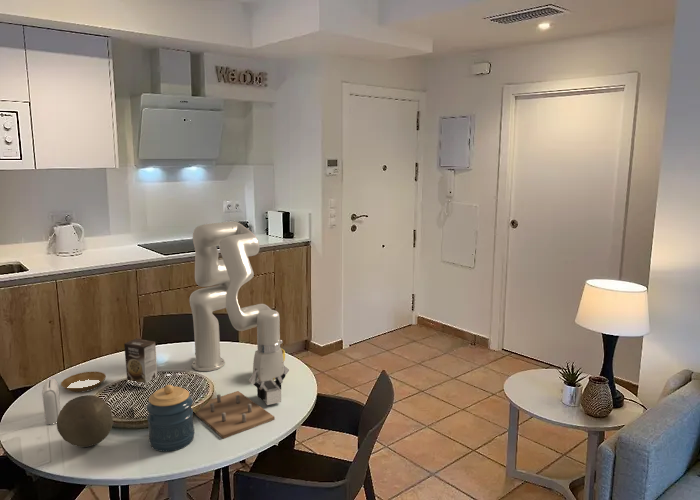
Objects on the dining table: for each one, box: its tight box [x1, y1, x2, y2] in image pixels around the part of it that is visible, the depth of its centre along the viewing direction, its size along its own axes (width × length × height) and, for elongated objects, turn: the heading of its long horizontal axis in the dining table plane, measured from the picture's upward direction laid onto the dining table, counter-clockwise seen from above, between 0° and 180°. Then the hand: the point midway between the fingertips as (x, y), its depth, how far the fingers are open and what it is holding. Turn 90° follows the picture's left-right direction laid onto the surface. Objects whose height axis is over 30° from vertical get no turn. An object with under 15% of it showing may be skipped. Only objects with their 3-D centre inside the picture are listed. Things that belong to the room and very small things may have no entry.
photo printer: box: [41, 378, 62, 425], centre depth 173 cm, size 10×4×12 cm, turn 26°
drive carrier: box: [260, 379, 282, 406], centre depth 185 cm, size 10×5×5 cm, turn 27°
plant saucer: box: [60, 371, 107, 393], centre depth 197 cm, size 15×15×3 cm
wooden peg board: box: [195, 390, 276, 439], centre depth 176 cm, size 24×18×4 cm
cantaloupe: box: [56, 394, 114, 448], centre depth 156 cm, size 14×14×15 cm
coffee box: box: [123, 338, 158, 383], centre depth 197 cm, size 9×6×16 cm
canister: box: [146, 384, 196, 452], centre depth 159 cm, size 13×13×18 cm
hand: (269, 395), depth 185 cm, fingers closed on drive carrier, 5 cm apart
